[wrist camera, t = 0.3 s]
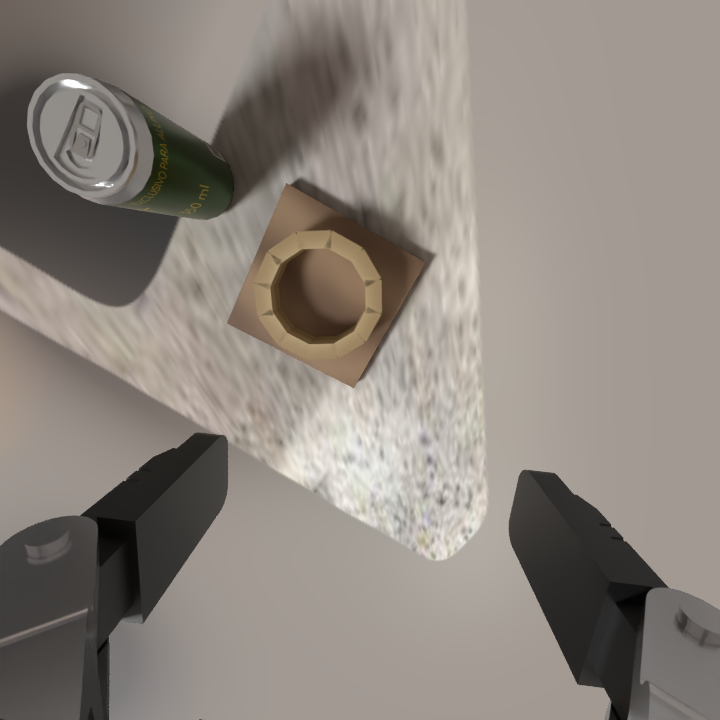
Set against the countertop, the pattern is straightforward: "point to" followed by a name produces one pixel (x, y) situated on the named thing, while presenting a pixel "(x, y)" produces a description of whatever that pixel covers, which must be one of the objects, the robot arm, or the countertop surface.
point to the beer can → (124, 151)
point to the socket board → (323, 287)
